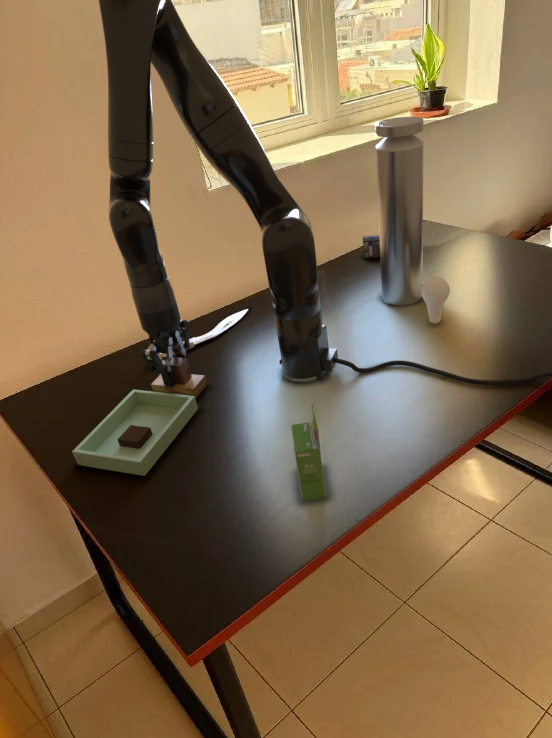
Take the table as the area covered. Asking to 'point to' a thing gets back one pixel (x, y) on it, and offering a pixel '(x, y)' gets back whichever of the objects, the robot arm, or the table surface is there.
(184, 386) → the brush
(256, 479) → the table surface
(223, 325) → the knife
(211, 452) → the table surface
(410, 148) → the silver metal canister
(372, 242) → the mini dv tape
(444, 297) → the lightbulb
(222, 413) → the table surface
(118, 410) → the tray
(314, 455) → the ink box
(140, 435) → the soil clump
